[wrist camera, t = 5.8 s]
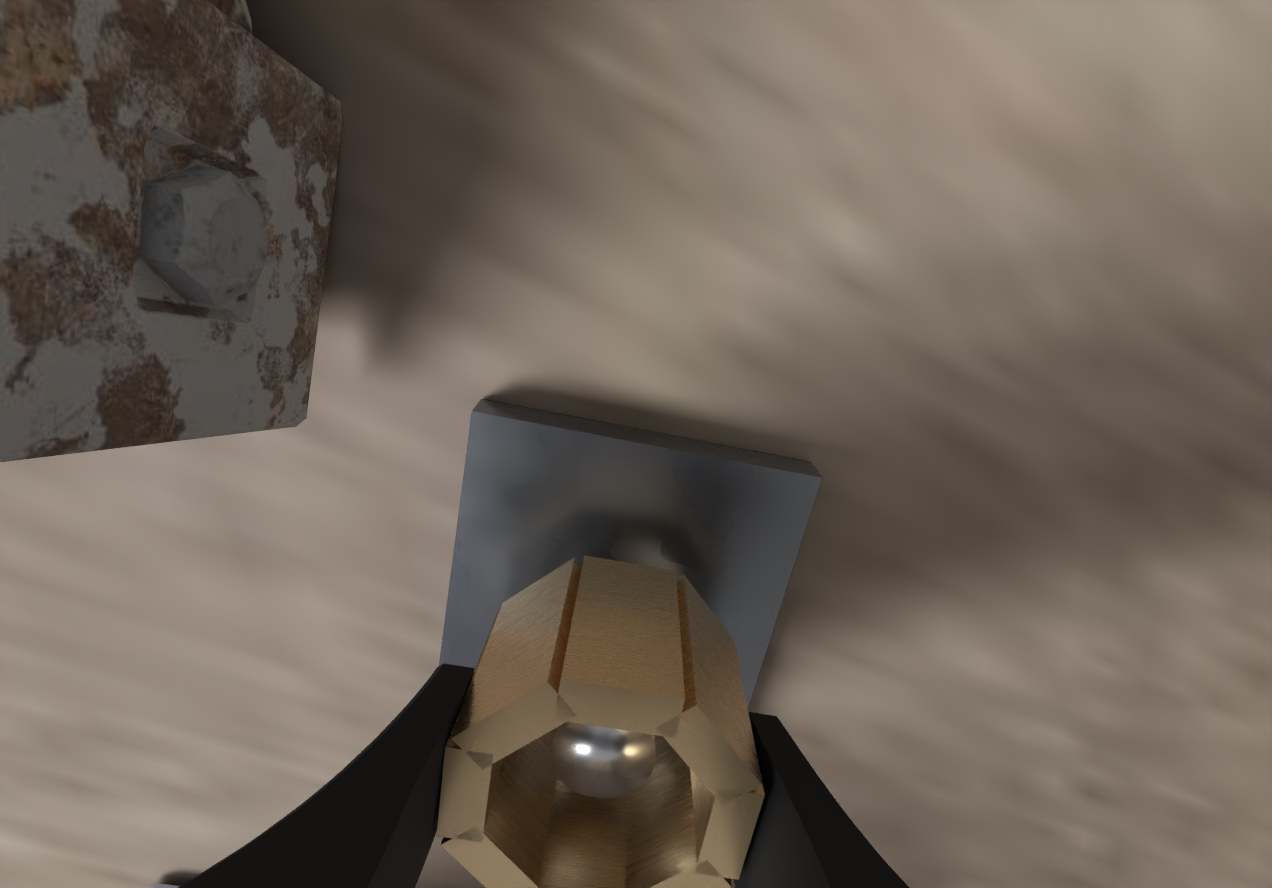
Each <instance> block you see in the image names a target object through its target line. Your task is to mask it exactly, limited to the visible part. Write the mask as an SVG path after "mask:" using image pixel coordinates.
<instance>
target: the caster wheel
mask: <svg viewBox="0 0 1272 888" xmlns="http://www.w3.org/2000/svg"><path fill="white" fill-rule="evenodd" d="M341 132H342V111H341V102H340V101H339V100H338V99H336V98H335V97H334V96H332V95H331V94H330V93H328V92H327V91H326V90H324V89H323V88H322V87H320V86H319V85H318V84H317V83H315V82H314V81H313V80H311V79H310V78H309V77H307V76H306V75H305V74H303V73H302V72H301V71H299V70H298V69H297V68H295V67H294V66H293V65H291V64H290V63H289V62H287V61H286V60H285V59H283V58H282V57H281V56H279V55H278V54H277V53H276V52H274V51H273V50H272V49H270V48H269V47H268V46H266V45H265V44H264V43H262V42H261V41H260V40H258V39H257V38H256V37H254V36H253V35H252V23H251V17H250V14H249V10H248V7H247V4H246V1H245V0H0V462H5V461H14V460H22V459H30V458H39V457H47V456H55V455H63V454H72V453H80V452H88V451H97V450H105V449H113V448H121V447H130V446H138V445H146V444H155V443H163V442H171V441H180V440H188V439H196V438H204V437H213V436H221V435H229V434H238V433H246V432H254V431H262V430H271V429H279V428H287V427H296V426H297V425H298V424H300V423H301V422H302V421H303V420H305V419H306V416H307V408H308V400H309V392H310V384H311V376H312V367H313V359H314V351H315V343H316V335H317V327H318V319H319V311H320V303H321V295H322V287H323V279H324V270H325V262H326V254H327V246H328V238H329V230H330V222H331V214H332V206H333V198H334V190H335V181H336V173H337V165H338V157H339V149H340V141H341Z"/></svg>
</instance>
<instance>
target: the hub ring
mask: <svg viewBox="0 0 1272 888" xmlns="http://www.w3.org/2000/svg"><path fill="white" fill-rule="evenodd" d="M565 722H573V723H580V724H586V725H593V726H599V727H606V728H613V729H619V730H626V731H632V732H639V733H645V734H652V735H655V754H656V758H655V765H654V768H653V771H652V773H651V775H650V776H649V777H648V779H647V780H646V781H645V782H644V783H643V784H642V785H641V786H639V787H638V788H637V789H635V790H633V791H632V792H629V793H627V794H624V795H621V796H617V797H611V798H596V797H589V796H585V795H582V794H580V793H577V792H575V791H573V790H571V789H570V788H568V787H567V786H566V785H564V784H563V783H562V782H561V781H560V780H559V778H558V777H557V776H556V774H555V772H554V770H553V768H552V764H551V748H552V741H553V734H554V729H555V728H557V727H558V726H560V725H562V724H564V723H565ZM764 796H765V794H764V789H763V784H762V779H761V774H760V769H759V764H758V758H757V753H756V748H755V743H754V738H753V733H752V728H751V723H750V718H749V713H748V708H747V703H746V698H745V693H744V687H743V682H742V677H741V672H740V667H739V662H738V657H737V652H736V647H735V642H734V639H733V638H732V636H731V635H730V634H729V632H728V631H727V630H726V629H725V627H724V626H723V625H722V623H721V622H720V621H719V619H718V618H717V617H716V616H715V614H714V613H713V612H712V610H711V609H710V608H709V607H708V605H707V604H706V603H705V601H704V600H703V599H702V597H701V596H700V595H699V594H698V592H697V591H696V590H695V588H694V587H693V586H692V584H691V583H690V582H689V581H688V579H687V578H686V577H685V575H683V576H682V577H680V578H678V579H677V580H676V570H672V569H665V568H659V567H653V566H647V565H641V564H635V563H628V562H622V561H616V560H610V559H604V558H598V557H591V556H585V555H584V560H583V565H582V566H581V564H580V563H579V562H578V561H577V560H576V558H575V557H574V558H573V559H571V560H569V561H568V562H566V563H565V564H563V565H562V566H560V567H558V568H557V569H555V570H554V571H552V572H550V573H549V574H547V575H546V576H544V577H543V578H541V579H539V580H538V581H536V582H535V583H533V584H531V585H530V586H528V587H527V588H525V589H524V590H522V591H520V592H519V593H517V594H516V595H514V596H512V597H511V598H509V599H508V600H506V601H505V602H503V603H502V606H501V608H500V610H498V611H497V614H496V616H495V619H494V621H493V624H492V627H491V629H490V632H489V634H488V637H487V640H486V642H485V645H484V647H483V650H482V653H481V655H480V658H479V660H478V663H477V666H476V668H475V671H474V673H473V676H472V679H471V682H470V685H469V688H468V691H467V694H466V697H465V700H464V703H463V706H462V709H461V711H460V713H459V715H458V718H457V720H456V722H455V724H454V726H453V728H452V731H451V733H450V736H449V738H448V741H447V744H446V746H445V754H444V765H443V775H442V786H441V796H440V807H439V817H438V827H437V836H440V837H443V839H442V842H441V846H442V847H443V848H444V849H445V850H446V851H447V852H449V853H450V854H451V855H452V856H453V857H454V858H455V859H456V860H457V861H458V862H459V863H460V864H461V865H462V866H463V867H464V868H465V869H466V870H468V871H469V872H470V873H471V874H472V875H473V876H474V877H475V878H476V879H477V880H478V881H479V882H480V883H481V884H482V885H483V886H484V887H486V888H731V879H737V880H739V877H740V873H741V870H742V867H743V864H744V860H745V857H746V854H747V851H748V848H749V844H750V841H751V838H752V835H753V831H754V828H755V825H756V822H757V818H758V815H759V812H760V809H761V806H762V802H763V799H764Z"/></svg>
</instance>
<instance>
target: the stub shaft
mask: <svg viewBox="0 0 1272 888" xmlns="http://www.w3.org/2000/svg"><path fill="white" fill-rule="evenodd" d="M821 480H822V477H821V475H820V474H819V473H818V471H817V470H816V469H815V467H814V466H813V465H812V463H811V462H807V461H802V460H797V459H792V458H786V457H781V456H776V455H771V454H765V453H760V452H755V451H750V450H745V449H739V448H734V447H729V446H724V445H719V444H713V443H708V442H703V441H698V440H693V439H687V438H682V437H677V436H672V435H666V434H661V433H656V432H651V431H646V430H640V429H635V428H630V427H625V426H620V425H614V424H609V423H604V422H599V421H594V420H588V419H583V418H578V417H573V416H568V415H562V414H557V413H552V412H547V411H541V410H536V409H531V408H526V407H521V406H515V405H510V404H505V403H500V402H495V401H489V400H484V399H481V400H480V401H479V403H478V404H477V405H476V407H475V408H474V409H473V410H472V414H471V422H470V430H469V437H468V445H467V453H466V461H465V468H464V476H463V484H462V492H461V499H460V507H459V515H458V523H457V530H456V538H455V546H454V554H453V561H452V569H451V577H450V584H449V592H448V600H447V608H446V615H445V623H444V631H443V639H442V646H441V654H440V662H439V666H440V665H442V664H444V663H445V664H452V665H458V666H464V667H470V668H476V666H477V663H478V660H479V658H480V655H481V653H482V650H483V647H484V645H485V642H486V640H487V637H488V634H489V632H490V629H491V627H492V624H493V621H494V619H495V616H496V614H497V611H498V610H500V608H501V606H502V603H503V602H505V601H506V600H508V599H509V598H511V597H512V596H514V595H516V594H517V593H519V592H520V591H522V590H524V589H525V588H527V587H528V586H530V585H531V584H533V583H535V582H536V581H538V580H539V579H541V578H543V577H544V576H546V575H547V574H549V573H550V572H552V571H554V570H555V569H557V568H558V567H560V566H562V565H563V564H565V563H566V562H568V561H569V560H571V559H573V558H574V557H575V558H576V560H577V561H578V562H579V563H580V564H581V566H582V565H583V560H584V555H585V556H591V557H598V558H604V559H610V560H616V561H622V562H628V563H635V564H641V565H647V566H653V567H659V568H665V569H672V570H676V580H677V579H678V578H680V577H682V576H683V575H685V577H686V578H687V579H688V581H689V582H690V583H691V584H692V586H693V587H694V588H695V590H696V591H697V592H698V594H699V595H700V596H701V597H702V599H703V600H704V601H705V603H706V604H707V605H708V607H709V608H710V609H711V610H712V612H713V613H714V614H715V616H716V617H717V618H718V619H719V621H720V622H721V623H722V625H723V626H724V627H725V629H726V630H727V631H728V632H729V634H730V635H731V636H732V638H733V639H734V642H735V647H736V652H737V657H738V662H739V667H740V672H741V677H742V682H743V687H744V693H745V698H746V703H747V708H748V707H749V703H750V700H751V697H752V694H753V691H754V688H755V685H756V682H757V679H758V676H759V672H760V669H761V666H762V663H763V660H764V657H765V654H766V651H767V648H768V645H769V641H770V638H771V635H772V632H773V629H774V626H775V623H776V620H777V617H778V614H779V610H780V607H781V604H782V601H783V598H784V595H785V592H786V589H787V586H788V583H789V579H790V576H791V573H792V570H793V567H794V564H795V561H796V558H797V555H798V552H799V548H800V545H801V542H802V539H803V536H804V533H805V530H806V527H807V524H808V520H809V517H810V514H811V511H812V508H813V505H814V502H815V499H816V496H817V493H818V489H819V486H820V483H821ZM474 671H475V669H474ZM655 758H656V754H655V735H652V734H645V733H639V732H632V731H626V730H619V729H613V728H606V727H599V726H593V725H586V724H580V723H573V722H565V723H564V724H562V725H560V726H558V727H557V728H555V729H554V734H553V741H552V748H551V764H552V768H553V770H554V772H555V774H556V776H557V777H558V778H559V780H560V781H561V782H562V783H563V784H564V785H566V786H567V787H568V788H570V789H571V790H573V791H575V792H577V793H580V794H582V795H585V796H589V797H596V798H611V797H617V796H621V795H624V794H627V793H629V792H632V791H633V790H635V789H637V788H638V787H639V786H641V785H642V784H643V783H644V782H645V781H646V780H647V779H648V777H649V776H650V775H651V773H652V771H653V768H654V765H655Z"/></svg>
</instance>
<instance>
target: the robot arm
mask: <svg viewBox="0 0 1272 888" xmlns="http://www.w3.org/2000/svg"><path fill="white" fill-rule="evenodd" d="M474 669H475V668H470V667H464V666H458V665H452V664H445V663H444V664H442V665H440V666H439V667H437V668H436V670H435V671H434V673H433V674H432V675H431V677H430V678H429V679H428V681H427V682H426V683H425V684H424V686H423V687H422V688H421V689H420V691H419V692H418V693H417V694H416V695H415V696H414V698H413V699H412V700H411V701H410V702H409V703H408V705H407V706H406V707H405V708H404V709H403V710H402V711H401V712H400V713H399V714H398V715H397V717H396V718H395V719H394V720H393V721H392V722H391V723H390V724H389V725H388V726H387V727H386V728H385V729H384V730H383V731H382V732H381V733H380V735H379V736H378V737H377V738H376V739H375V740H374V741H373V742H371V743H370V744H369V745H368V746H367V747H366V748H365V749H364V750H363V751H362V752H361V753H360V754H359V755H358V756H357V757H356V758H355V759H353V760H352V761H351V762H350V763H349V764H348V765H347V766H346V767H345V768H344V769H343V770H342V771H341V772H339V773H338V774H337V775H336V776H335V777H334V778H333V779H331V780H330V781H329V782H328V783H327V784H326V785H324V786H323V787H322V788H321V789H320V790H318V791H317V792H316V793H315V794H313V795H312V796H311V797H310V798H309V799H307V800H306V801H305V802H304V803H302V804H301V805H300V806H299V807H297V808H296V809H295V810H293V811H292V812H291V813H289V814H288V815H287V816H285V817H284V818H283V819H281V820H280V821H278V822H277V823H276V824H274V825H273V826H272V827H270V828H269V829H268V830H266V831H265V832H264V833H262V834H261V835H259V836H258V837H256V838H255V839H254V840H252V841H251V842H249V843H248V844H246V845H245V846H243V847H242V848H240V849H239V850H237V851H236V852H234V853H232V854H231V855H229V856H228V857H226V858H225V859H223V860H221V861H220V862H218V863H217V864H215V865H213V866H212V867H210V868H209V869H207V870H206V871H204V872H202V873H201V874H199V875H198V876H196V877H195V878H193V879H191V880H190V881H188V882H186V883H185V884H183V885H181V886H175V885H168V884H156V885H153V886H150V887H149V888H415V886H416V884H417V881H418V879H419V876H420V873H421V871H422V868H423V866H424V863H425V860H426V858H427V855H428V853H429V850H430V847H431V845H432V842H433V840H434V837H435V834H436V832H437V827H438V817H439V807H440V796H441V786H442V775H443V765H444V754H445V746H446V744H447V741H448V738H449V736H450V733H451V731H452V728H453V726H454V724H455V722H456V720H457V718H458V715H459V713H460V711H461V709H462V706H463V703H464V700H465V697H466V694H467V691H468V688H469V685H470V682H471V679H472V676H473V673H474ZM748 713H749V718H750V723H751V728H752V733H753V738H754V743H755V748H756V753H757V758H758V764H759V769H760V774H761V779H762V784H763V789H764V794H765V796H764V799H763V802H762V806H761V809H760V812H759V815H758V818H757V822H756V825H755V828H754V831H753V835H752V838H751V841H750V844H749V848H748V851H747V854H746V857H745V860H744V864H743V867H742V870H741V873H740V877H739V880H737V879H734V883H735V888H909V887H908V886H907V885H906V884H905V883H904V881H903V880H902V879H901V878H900V877H899V876H898V875H897V874H896V873H895V872H894V871H893V870H892V869H891V867H890V866H889V865H888V864H887V863H886V862H885V861H884V859H883V858H882V857H881V856H880V855H879V854H878V853H877V851H876V850H875V849H874V848H873V847H872V845H871V844H870V843H869V842H868V840H867V839H866V838H865V837H864V836H863V834H862V833H861V832H860V831H859V829H858V828H857V827H856V826H855V825H854V823H853V822H852V821H851V820H850V818H849V817H848V816H847V814H846V813H845V812H844V810H843V809H842V808H841V807H840V805H839V804H838V803H837V801H836V800H835V799H834V797H833V796H832V795H831V793H830V792H829V790H828V789H827V788H826V786H825V785H824V784H823V782H822V781H821V779H820V778H819V777H818V775H817V774H816V772H815V771H814V770H813V768H812V767H811V765H810V764H809V762H808V761H807V760H806V758H805V757H804V755H803V754H802V752H801V751H800V749H799V748H798V747H797V745H796V744H795V742H794V741H793V739H792V738H791V736H790V735H789V733H788V732H787V730H786V729H785V728H784V726H783V725H782V723H781V722H780V720H779V719H778V718H777V716H771V715H765V714H759V713H752V712H748Z"/></svg>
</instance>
